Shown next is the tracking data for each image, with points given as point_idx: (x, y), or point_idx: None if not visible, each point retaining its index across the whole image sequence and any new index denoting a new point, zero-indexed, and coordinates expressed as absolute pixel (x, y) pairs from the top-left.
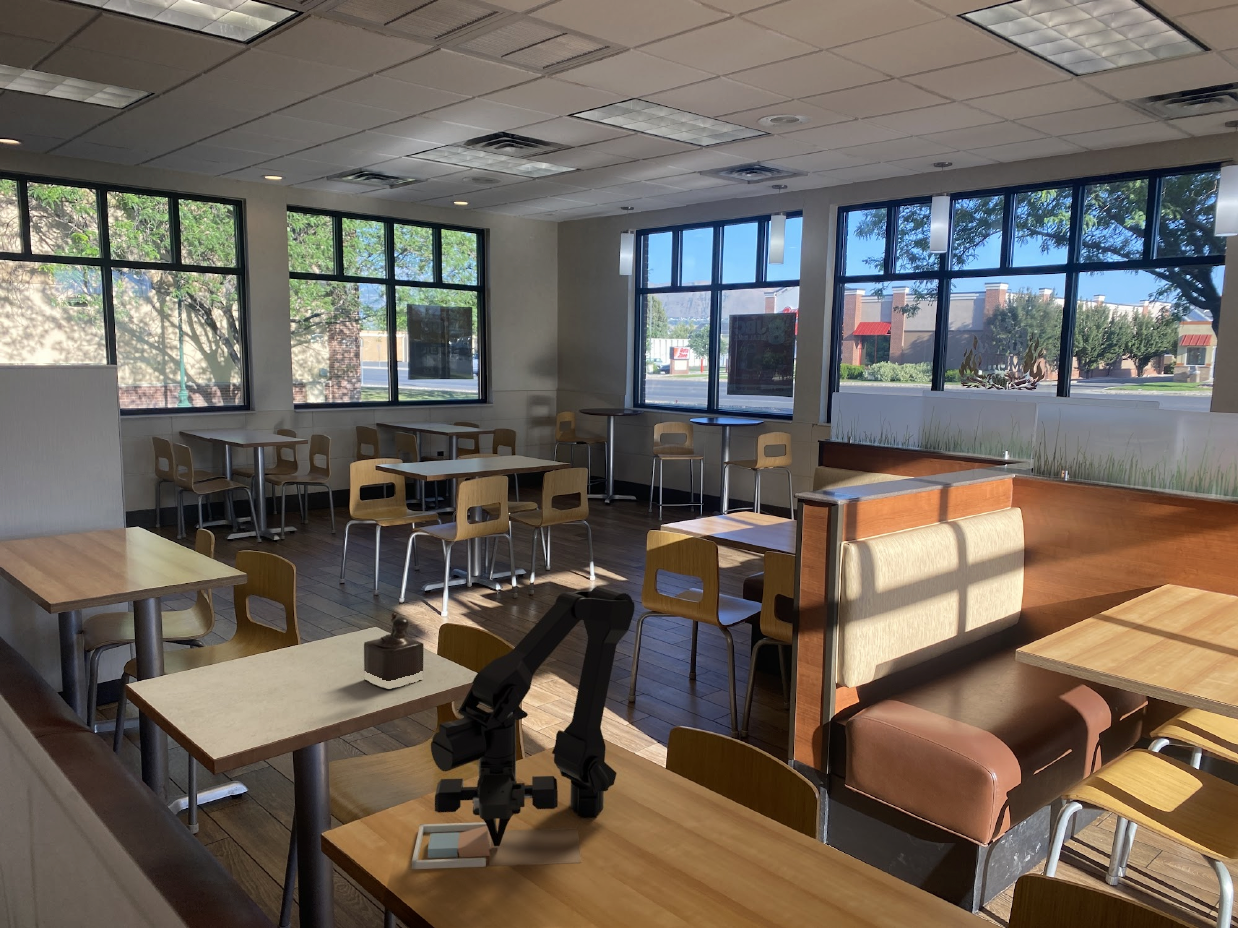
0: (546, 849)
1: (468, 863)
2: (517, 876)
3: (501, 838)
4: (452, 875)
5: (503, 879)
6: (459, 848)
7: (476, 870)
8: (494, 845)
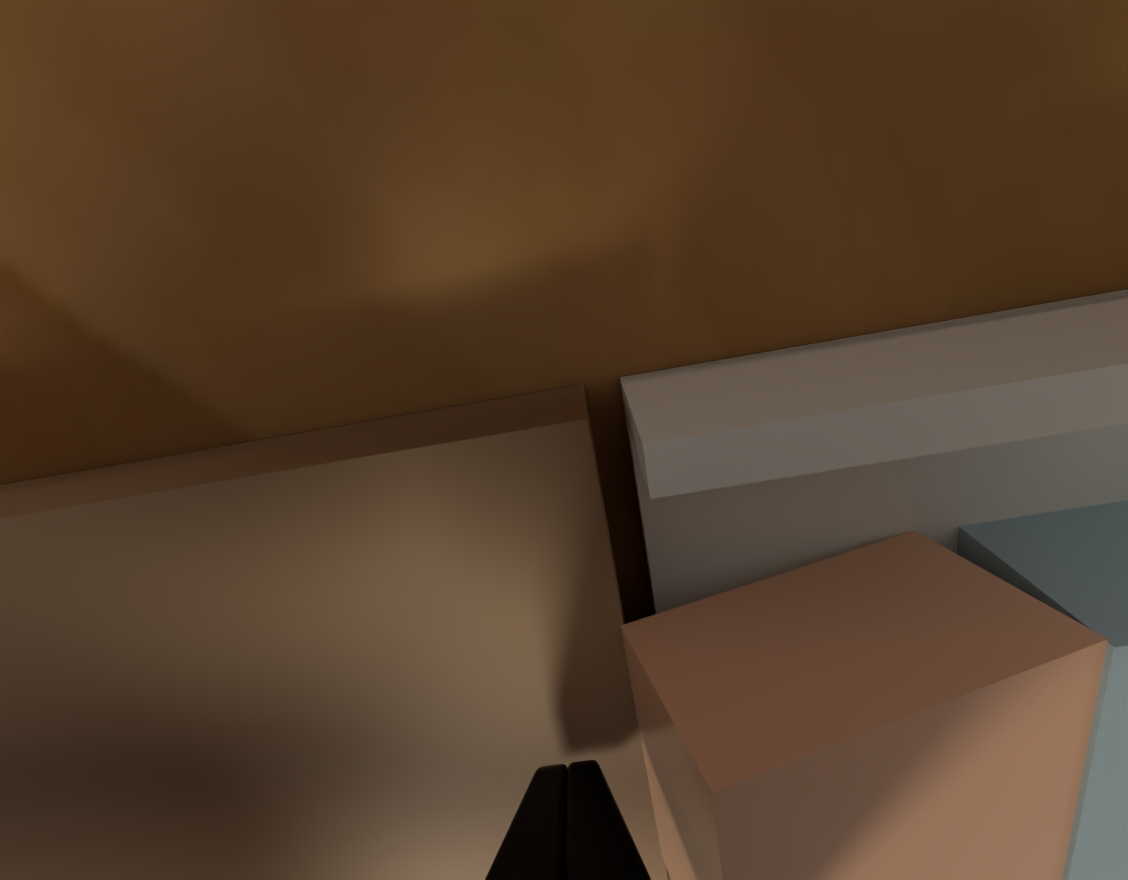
0: (47, 769)
1: (888, 381)
2: (271, 395)
3: (498, 861)
4: None
5: (403, 322)
6: (1073, 640)
7: None
8: (594, 763)
